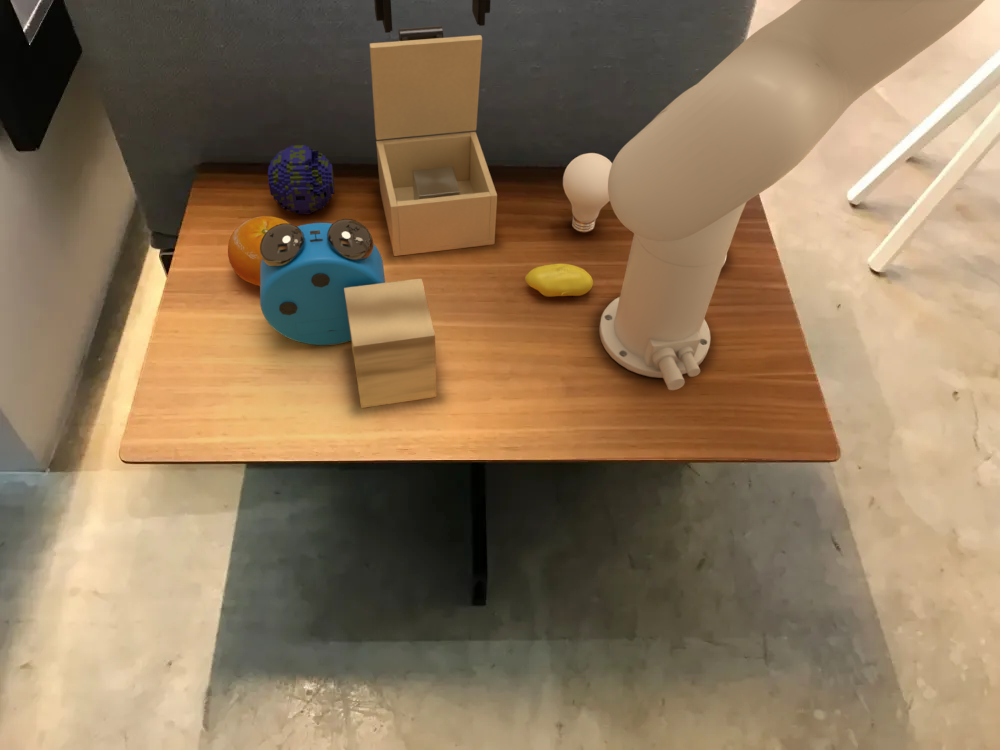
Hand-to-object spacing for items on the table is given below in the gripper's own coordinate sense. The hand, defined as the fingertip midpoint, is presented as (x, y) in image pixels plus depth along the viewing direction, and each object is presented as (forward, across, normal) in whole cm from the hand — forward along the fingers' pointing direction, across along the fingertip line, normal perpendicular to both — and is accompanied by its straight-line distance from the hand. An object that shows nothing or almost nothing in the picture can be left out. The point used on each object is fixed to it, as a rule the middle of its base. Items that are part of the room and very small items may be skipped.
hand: (433, 22), depth 89 cm
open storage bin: (+26, 0, 0) cm, 26 cm away
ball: (+26, -16, +6) cm, 31 cm away
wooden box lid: (+11, 0, +5) cm, 12 cm away
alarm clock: (+26, -15, -17) cm, 35 cm away
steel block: (+26, 0, 0) cm, 26 cm away
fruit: (+26, -21, -6) cm, 34 cm away
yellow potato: (+26, +12, -16) cm, 33 cm away
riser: (+26, -9, -24) cm, 37 cm away
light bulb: (+26, +18, -6) cm, 33 cm away
